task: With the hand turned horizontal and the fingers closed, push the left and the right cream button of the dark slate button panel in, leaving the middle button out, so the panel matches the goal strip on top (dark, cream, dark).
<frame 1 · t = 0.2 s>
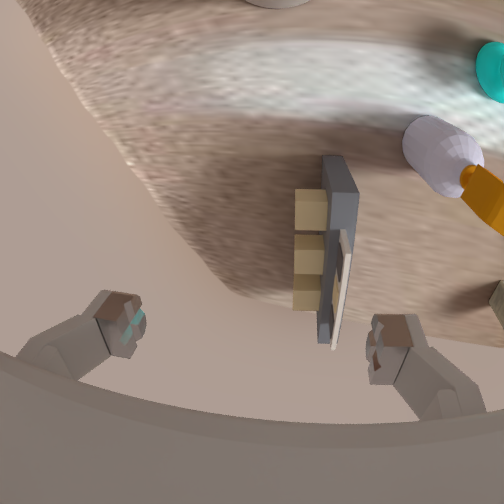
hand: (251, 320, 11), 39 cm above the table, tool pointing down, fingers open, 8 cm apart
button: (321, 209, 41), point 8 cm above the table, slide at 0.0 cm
button mid: (319, 254, 45), point 8 cm above the table, slide at 0.0 cm
skincare box: (500, 290, 54), on the table
panel: (328, 227, 52), on the table
donuts: (496, 71, 33), on the table
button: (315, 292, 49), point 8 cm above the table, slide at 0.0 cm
soap bottle: (427, 143, 42), on the table
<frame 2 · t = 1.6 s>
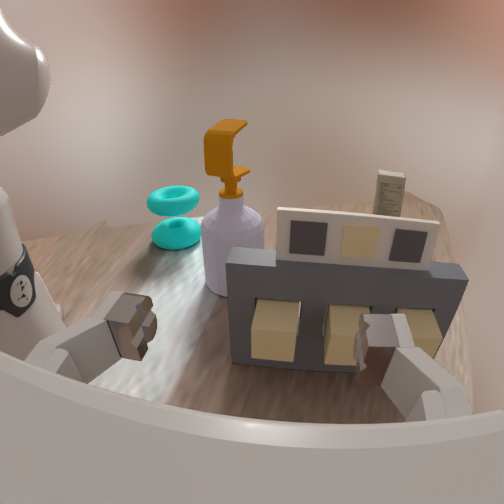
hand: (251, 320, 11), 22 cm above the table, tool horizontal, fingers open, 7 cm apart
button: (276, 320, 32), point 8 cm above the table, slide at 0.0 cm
button mid: (346, 325, 31), point 8 cm above the table, slide at 0.0 cm
skincare box: (383, 225, 70), on the table
panel: (333, 362, 37), on the table
donuts: (177, 240, 64), on the table
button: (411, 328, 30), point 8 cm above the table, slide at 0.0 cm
soap bottle: (234, 282, 51), on the table
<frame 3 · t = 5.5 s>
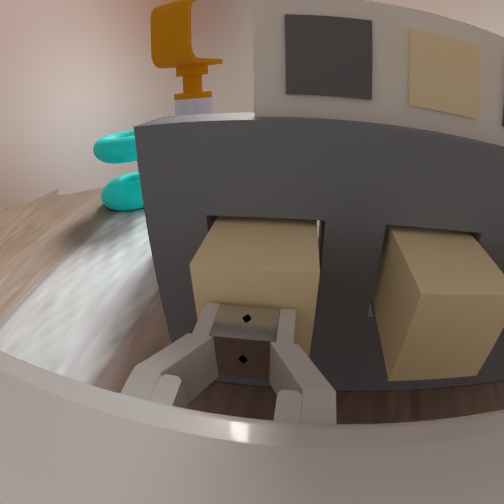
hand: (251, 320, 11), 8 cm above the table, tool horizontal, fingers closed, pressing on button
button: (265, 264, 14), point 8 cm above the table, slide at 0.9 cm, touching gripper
button mid: (428, 283, 12), point 8 cm above the table, slide at 0.0 cm
panel: (380, 371, 18), on the table
donuts: (136, 201, 45), on the table
soap bottle: (204, 245, 33), on the table
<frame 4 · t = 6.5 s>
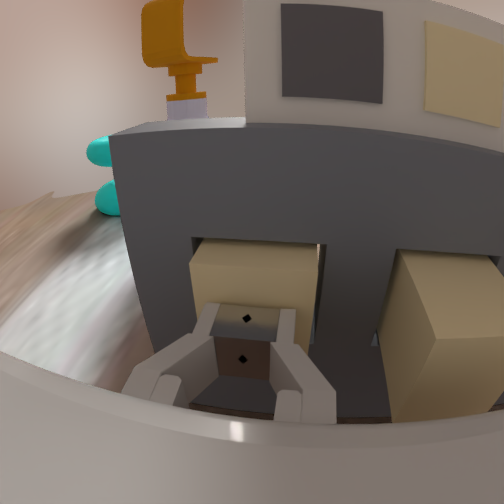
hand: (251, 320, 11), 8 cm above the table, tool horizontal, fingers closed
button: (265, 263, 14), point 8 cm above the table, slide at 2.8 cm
button mid: (440, 312, 11), point 8 cm above the table, slide at 0.0 cm
panel: (382, 395, 16), on the table
donuts: (130, 205, 44), on the table
soap bottle: (199, 253, 31), on the table
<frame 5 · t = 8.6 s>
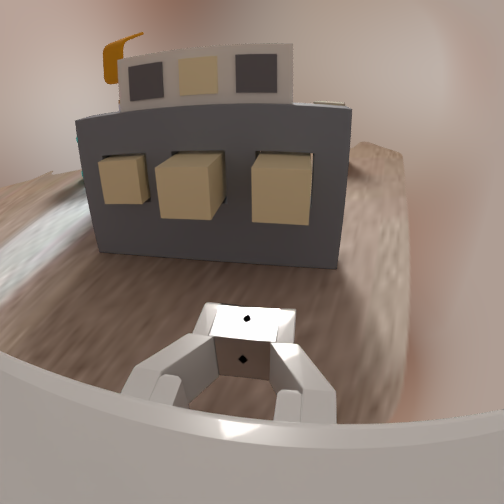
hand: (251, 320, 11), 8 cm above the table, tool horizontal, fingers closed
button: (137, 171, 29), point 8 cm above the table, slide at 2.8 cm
button mid: (197, 179, 26), point 8 cm above the table, slide at 0.0 cm
panel: (210, 252, 32), on the table
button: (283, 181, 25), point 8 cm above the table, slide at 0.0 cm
soap bottle: (140, 197, 46), on the table
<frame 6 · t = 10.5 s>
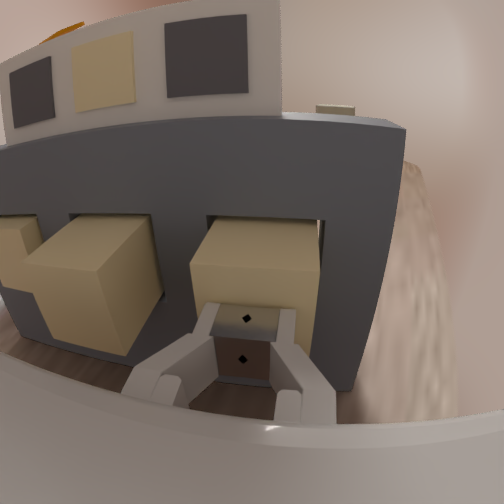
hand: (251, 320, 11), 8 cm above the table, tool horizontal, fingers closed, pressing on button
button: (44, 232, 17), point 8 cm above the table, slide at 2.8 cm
button mid: (110, 263, 14), point 8 cm above the table, slide at 0.0 cm
skincare box: (333, 177, 53), on the table
panel: (158, 353, 20), on the table
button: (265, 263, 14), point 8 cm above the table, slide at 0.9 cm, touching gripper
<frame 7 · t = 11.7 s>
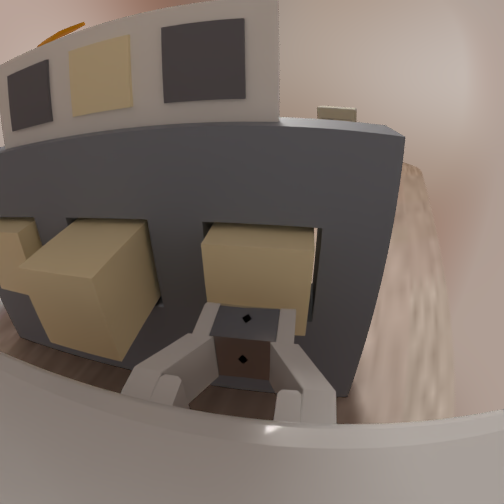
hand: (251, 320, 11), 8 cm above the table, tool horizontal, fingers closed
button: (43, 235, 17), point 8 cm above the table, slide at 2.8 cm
button mid: (107, 268, 14), point 8 cm above the table, slide at 0.0 cm
skincare box: (334, 179, 53), on the table
panel: (155, 356, 20), on the table
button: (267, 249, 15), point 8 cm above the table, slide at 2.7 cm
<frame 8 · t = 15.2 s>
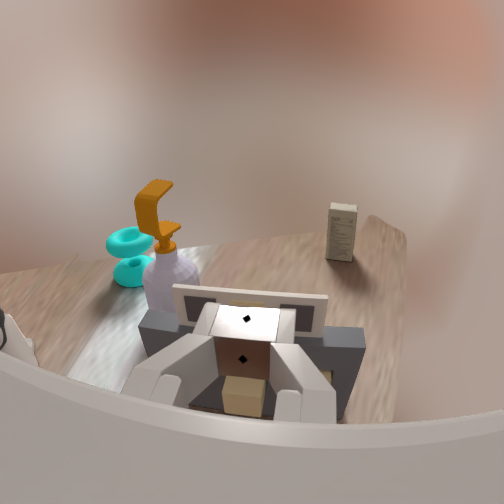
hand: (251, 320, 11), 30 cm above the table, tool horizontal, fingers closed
button mid: (247, 380, 34), point 8 cm above the table, slide at 0.0 cm
skincare box: (338, 256, 73), on the table
panel: (251, 404, 40), on the table
donuts: (137, 277, 67), on the table
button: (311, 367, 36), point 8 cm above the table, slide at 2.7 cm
soap bottle: (179, 321, 55), on the table
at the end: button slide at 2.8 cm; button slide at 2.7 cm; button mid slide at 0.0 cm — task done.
